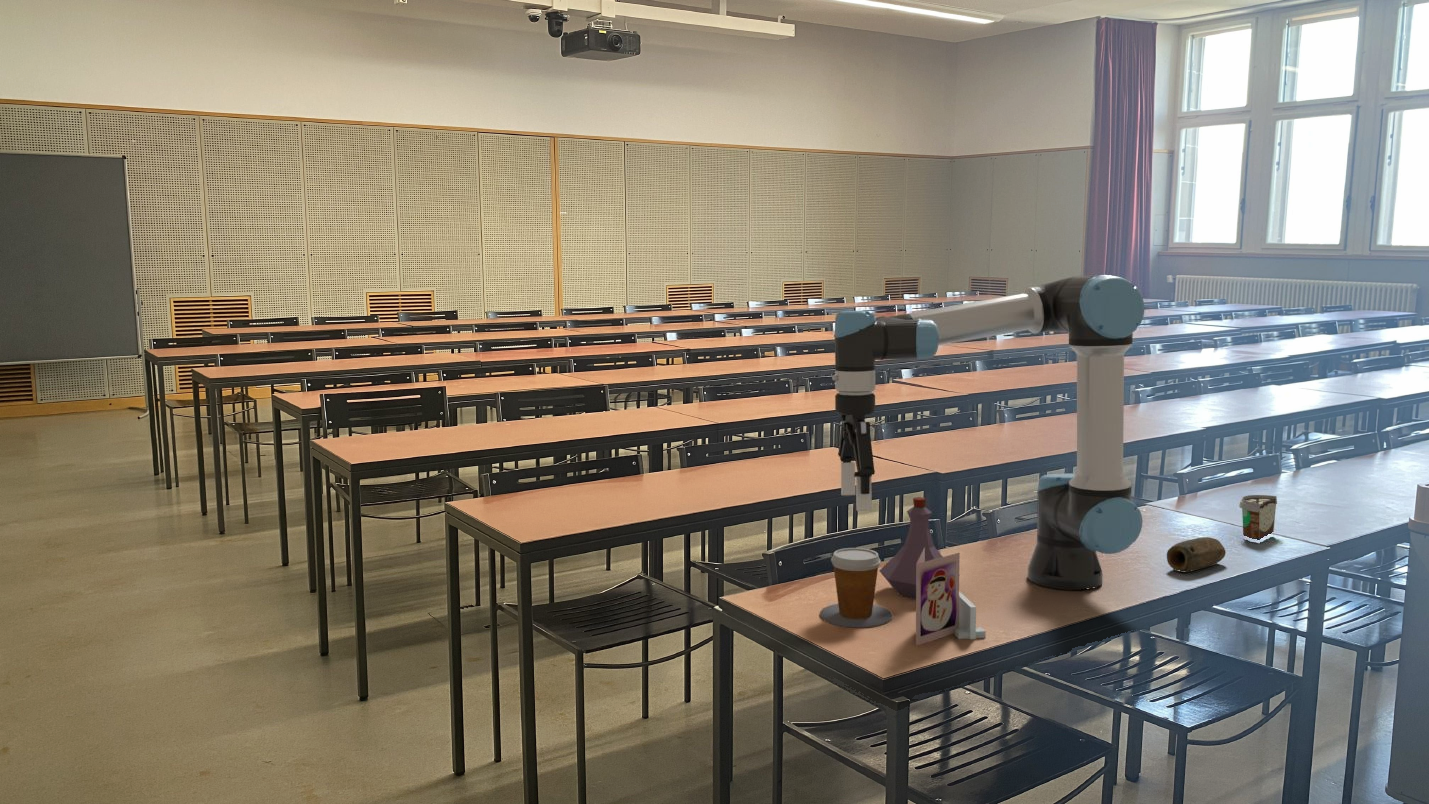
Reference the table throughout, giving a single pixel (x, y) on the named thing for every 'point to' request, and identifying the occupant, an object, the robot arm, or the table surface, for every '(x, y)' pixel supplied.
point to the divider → (968, 620)
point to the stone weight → (1195, 554)
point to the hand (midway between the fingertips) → (855, 502)
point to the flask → (911, 552)
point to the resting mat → (876, 619)
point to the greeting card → (937, 597)
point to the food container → (1258, 515)
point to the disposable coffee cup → (855, 581)
